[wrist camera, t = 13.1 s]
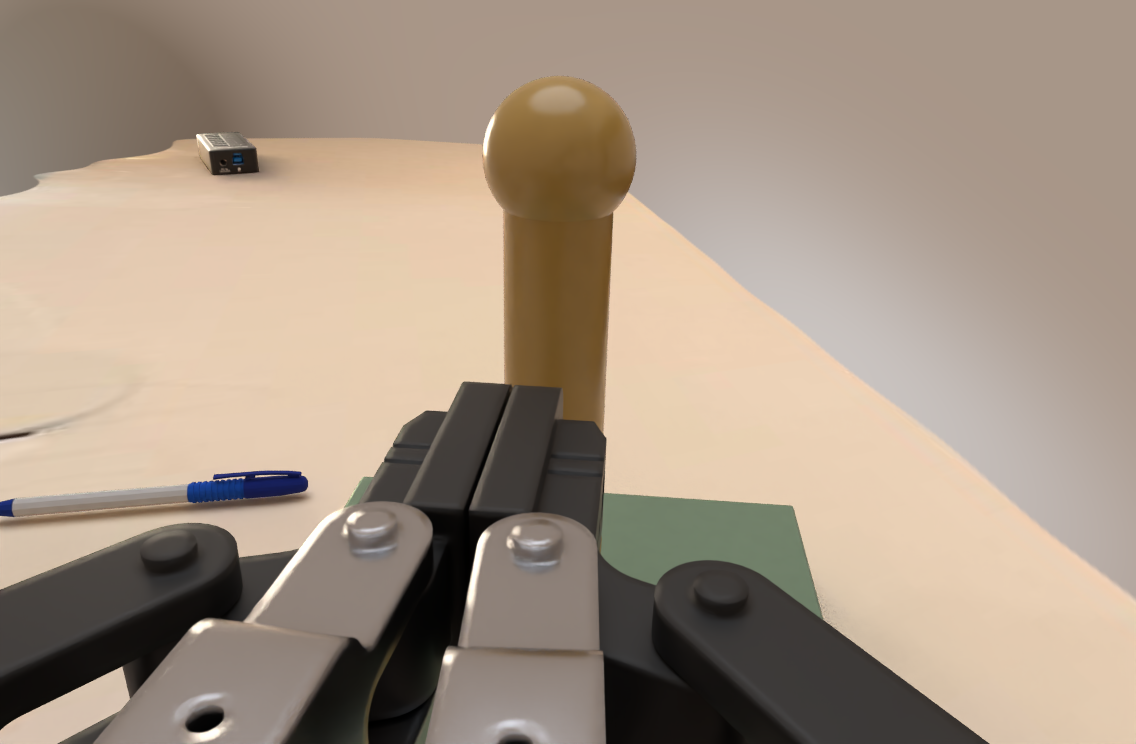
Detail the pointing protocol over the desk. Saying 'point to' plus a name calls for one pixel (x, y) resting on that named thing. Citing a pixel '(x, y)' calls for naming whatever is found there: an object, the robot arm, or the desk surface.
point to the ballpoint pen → (162, 494)
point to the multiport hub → (227, 153)
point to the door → (698, 538)
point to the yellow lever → (559, 232)
